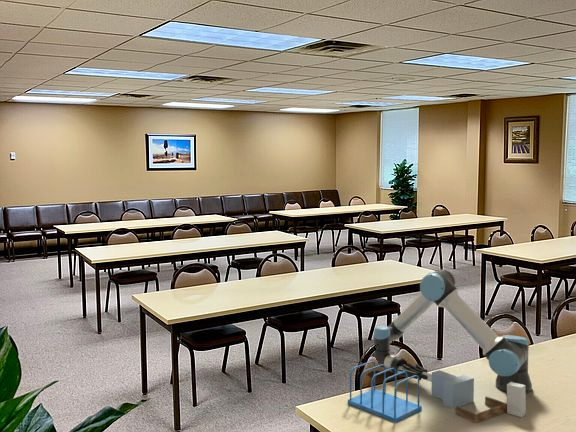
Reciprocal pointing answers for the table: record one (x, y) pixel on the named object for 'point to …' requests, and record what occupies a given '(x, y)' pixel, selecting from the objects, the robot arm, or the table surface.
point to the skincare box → (516, 399)
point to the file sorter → (384, 398)
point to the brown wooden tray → (498, 409)
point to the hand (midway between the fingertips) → (434, 379)
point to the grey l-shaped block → (452, 388)
